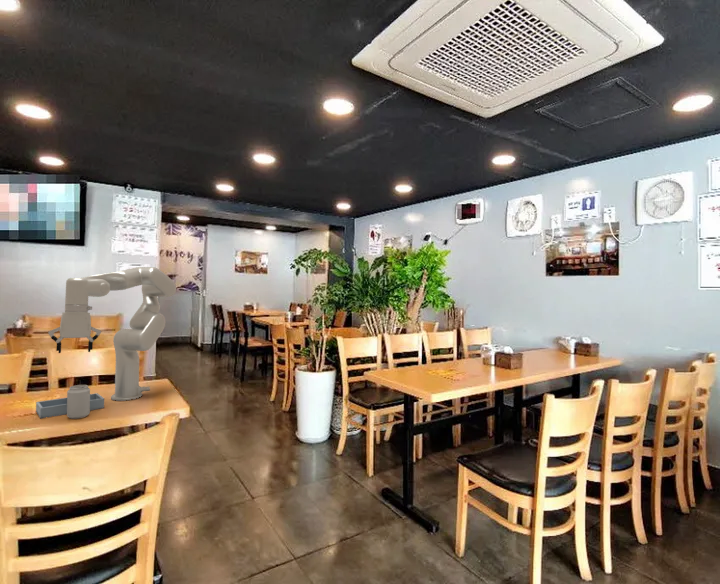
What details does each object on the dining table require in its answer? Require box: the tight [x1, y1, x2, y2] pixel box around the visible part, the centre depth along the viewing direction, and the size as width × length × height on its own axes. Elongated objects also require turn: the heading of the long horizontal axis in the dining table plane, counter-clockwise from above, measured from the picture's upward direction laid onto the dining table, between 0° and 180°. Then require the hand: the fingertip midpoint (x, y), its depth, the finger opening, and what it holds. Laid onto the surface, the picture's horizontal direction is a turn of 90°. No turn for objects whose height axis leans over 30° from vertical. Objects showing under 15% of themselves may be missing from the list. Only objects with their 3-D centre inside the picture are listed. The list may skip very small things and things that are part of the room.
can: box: [66, 384, 91, 420], centre depth 161 cm, size 8×8×12 cm
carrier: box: [35, 392, 105, 419], centre depth 169 cm, size 21×11×4 cm, turn 135°
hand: (74, 352), depth 162 cm, fingers open, 9 cm apart
